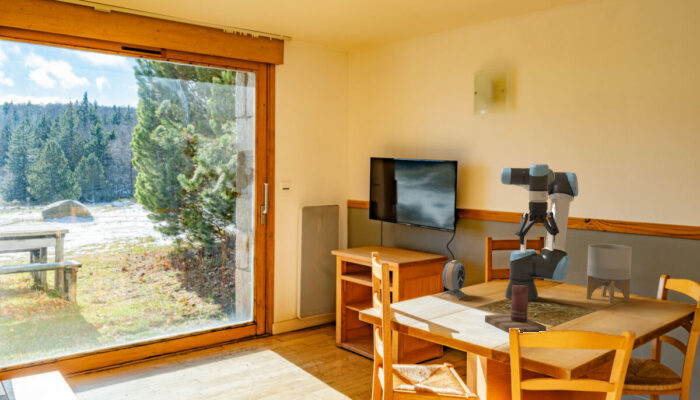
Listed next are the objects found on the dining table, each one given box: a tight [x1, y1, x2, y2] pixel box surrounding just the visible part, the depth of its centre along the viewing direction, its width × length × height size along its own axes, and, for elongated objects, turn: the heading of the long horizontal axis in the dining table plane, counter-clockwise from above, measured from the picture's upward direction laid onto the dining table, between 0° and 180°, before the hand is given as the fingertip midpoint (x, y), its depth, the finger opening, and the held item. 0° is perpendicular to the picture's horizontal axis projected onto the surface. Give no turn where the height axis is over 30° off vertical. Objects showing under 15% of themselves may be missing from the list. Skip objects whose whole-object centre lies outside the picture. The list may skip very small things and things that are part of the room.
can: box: [510, 284, 529, 322], centre depth 215 cm, size 6×6×14 cm
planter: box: [585, 243, 633, 306], centre depth 263 cm, size 19×19×26 cm
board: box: [484, 312, 547, 334], centre depth 213 cm, size 22×14×2 cm, turn 19°
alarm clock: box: [439, 259, 468, 301], centre depth 265 cm, size 14×10×18 cm
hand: (536, 251), depth 231 cm, fingers open, 13 cm apart
